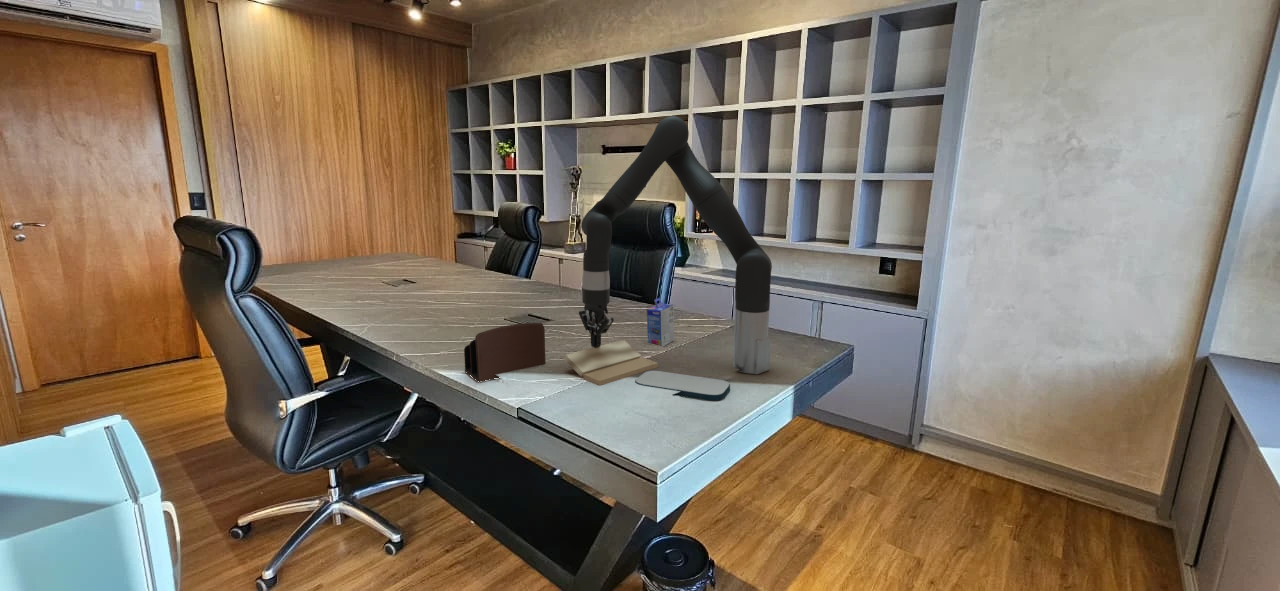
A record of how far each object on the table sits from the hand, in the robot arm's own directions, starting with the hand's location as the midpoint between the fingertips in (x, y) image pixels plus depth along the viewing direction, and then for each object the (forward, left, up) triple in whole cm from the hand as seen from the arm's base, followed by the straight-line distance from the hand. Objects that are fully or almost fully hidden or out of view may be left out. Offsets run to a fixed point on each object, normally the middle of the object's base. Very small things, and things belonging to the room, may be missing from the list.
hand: (595, 346), depth 162 cm
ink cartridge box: (+5, -31, -6) cm, 32 cm away
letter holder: (+15, +20, -7) cm, 26 cm away
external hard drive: (-27, -6, -7) cm, 29 cm away
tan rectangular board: (-6, 0, -6) cm, 9 cm away
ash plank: (-3, 0, -3) cm, 4 cm away
